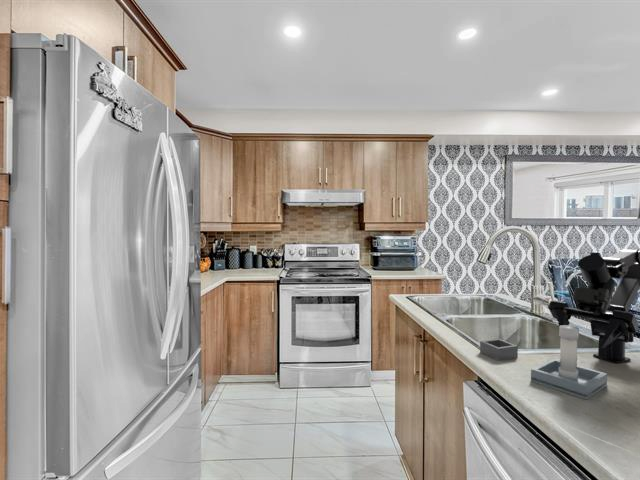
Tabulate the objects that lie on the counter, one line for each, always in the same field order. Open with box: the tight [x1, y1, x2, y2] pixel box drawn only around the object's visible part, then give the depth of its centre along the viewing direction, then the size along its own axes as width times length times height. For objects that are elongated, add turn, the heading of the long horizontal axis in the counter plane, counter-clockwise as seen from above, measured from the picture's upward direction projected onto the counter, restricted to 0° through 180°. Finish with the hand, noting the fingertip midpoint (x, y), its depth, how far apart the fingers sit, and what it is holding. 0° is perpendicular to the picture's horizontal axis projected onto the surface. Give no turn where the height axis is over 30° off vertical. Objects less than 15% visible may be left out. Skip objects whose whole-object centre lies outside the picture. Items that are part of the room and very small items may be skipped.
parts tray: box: [530, 358, 608, 400], centre depth 89 cm, size 12×12×3 cm
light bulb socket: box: [479, 338, 519, 361], centre depth 109 cm, size 7×7×4 cm
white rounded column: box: [558, 324, 580, 382], centre depth 89 cm, size 4×4×13 cm
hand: (580, 342), depth 93 cm, fingers open, 9 cm apart
